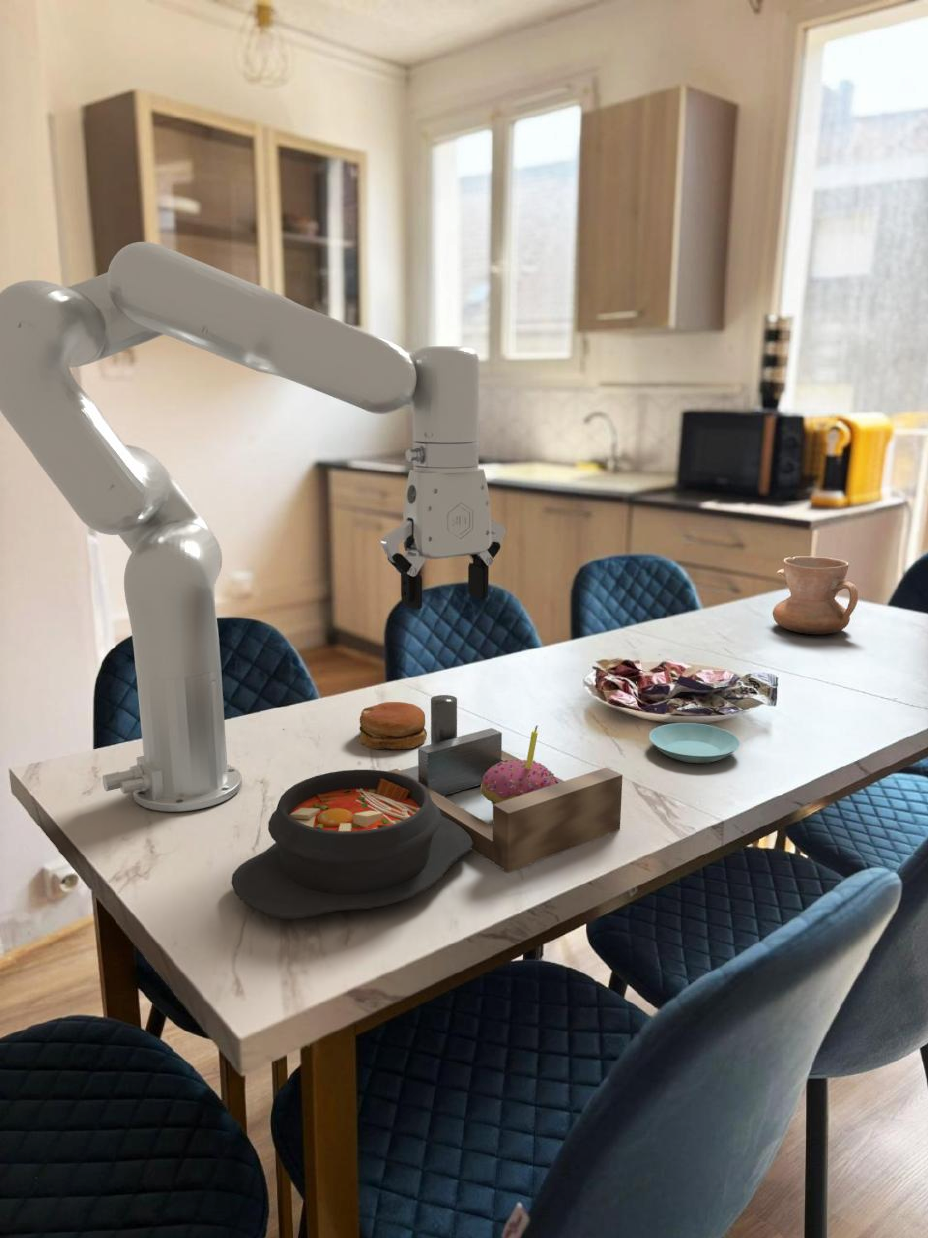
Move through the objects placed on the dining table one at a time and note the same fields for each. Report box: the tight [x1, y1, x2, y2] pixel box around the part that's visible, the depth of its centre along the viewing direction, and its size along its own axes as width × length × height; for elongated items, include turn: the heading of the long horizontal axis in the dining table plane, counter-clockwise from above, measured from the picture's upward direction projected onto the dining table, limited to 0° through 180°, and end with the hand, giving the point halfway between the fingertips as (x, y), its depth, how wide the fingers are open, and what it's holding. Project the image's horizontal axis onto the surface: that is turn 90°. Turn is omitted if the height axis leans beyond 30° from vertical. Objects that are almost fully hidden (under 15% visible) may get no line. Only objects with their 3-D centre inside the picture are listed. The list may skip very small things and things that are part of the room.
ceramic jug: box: [772, 555, 859, 635], centre depth 184 cm, size 18×14×14 cm
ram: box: [399, 694, 503, 797], centre depth 113 cm, size 11×7×10 cm, turn 126°
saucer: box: [648, 722, 741, 764], centre depth 124 cm, size 12×12×2 cm
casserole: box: [231, 769, 473, 920], centre depth 92 cm, size 25×19×8 cm
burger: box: [358, 701, 428, 751], centre depth 128 cm, size 10×9×5 cm
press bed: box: [387, 749, 623, 873], centre depth 107 cm, size 16×24×6 cm, turn 36°
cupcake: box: [480, 724, 558, 805], centre depth 103 cm, size 9×8×12 cm
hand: (445, 601), depth 111 cm, fingers open, 9 cm apart
